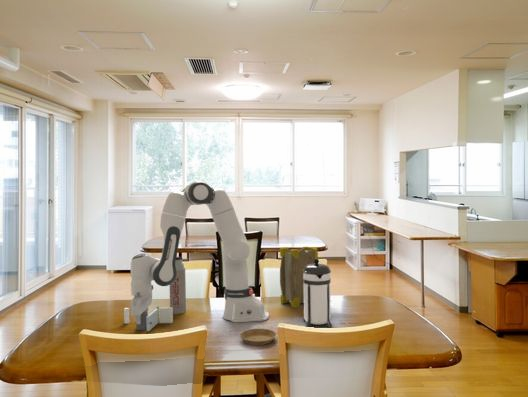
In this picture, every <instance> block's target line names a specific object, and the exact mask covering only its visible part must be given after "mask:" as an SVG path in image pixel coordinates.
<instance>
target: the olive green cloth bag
mask: <svg viewBox="0 0 528 397" xmlns="http://www.w3.org/2000/svg"><path fill="white" fill-rule="evenodd" d="M318 250H319V249H318V248H317V247H312V246H303V247H302V248H300V249H298V248H297V249H295V248H293V249H289V247H280V248H279V256H280V257H281V260H280V267H279V285H280V290H281V291H280V293H281V295H280V303H281V304H284V303H285V304H288V303H289V304H290V306H291V308H297V307H300V304H304V283H303V278H304V276H303V269H304V267H305V266H306V265H308V264H315V262H314V260H315V259H318V260H319V253H318V252H319V251H318Z"/></svg>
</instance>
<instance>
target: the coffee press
mask: <svg viewBox="0 0 528 397" xmlns="http://www.w3.org/2000/svg"><path fill="white" fill-rule="evenodd" d="M314 262H315V264H308V265H306V266H305V267H304V269H303V276H304V278H303V283H304V303H303V318H302V321H303V322H305V323H306V327H307V326H308V327H311V328H312V326H313V325H326V326H327V328H331V327H332V326H333V324H332V323H331V282H332V281H331V273H332V272H331V271H332V270H331V269H330V267H329V266H328V264H324V263H320V260H319V258H318V259H315V260H314Z"/></svg>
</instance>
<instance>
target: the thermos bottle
mask: <svg viewBox="0 0 528 397" xmlns="http://www.w3.org/2000/svg"><path fill="white" fill-rule="evenodd" d="M175 266H176V272H177V275H176V279H175V281H174V282H173V283H172V284H170V285H169V307H172V309H173V315H181V314H185V313H187V297H186V295H187V294H186V267H185V265H184V262H183V257H182V256H176V261H175Z"/></svg>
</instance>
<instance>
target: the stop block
mask: <svg viewBox="0 0 528 397" xmlns="http://www.w3.org/2000/svg"><path fill="white" fill-rule="evenodd" d="M148 313H149V311H148V312H143V313H142V314H141V316H140V318H141V324H136V327H135V328H136V330H137V331H147V322H146V316H148V315H149V314H148Z"/></svg>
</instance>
